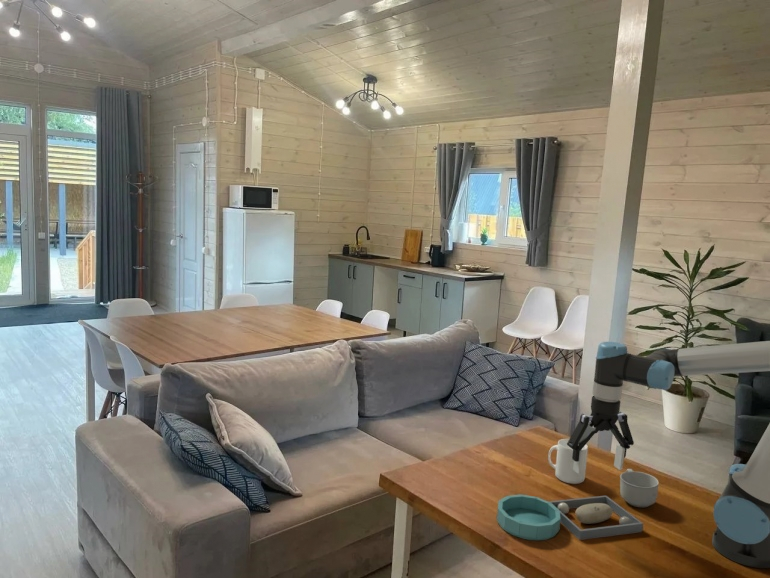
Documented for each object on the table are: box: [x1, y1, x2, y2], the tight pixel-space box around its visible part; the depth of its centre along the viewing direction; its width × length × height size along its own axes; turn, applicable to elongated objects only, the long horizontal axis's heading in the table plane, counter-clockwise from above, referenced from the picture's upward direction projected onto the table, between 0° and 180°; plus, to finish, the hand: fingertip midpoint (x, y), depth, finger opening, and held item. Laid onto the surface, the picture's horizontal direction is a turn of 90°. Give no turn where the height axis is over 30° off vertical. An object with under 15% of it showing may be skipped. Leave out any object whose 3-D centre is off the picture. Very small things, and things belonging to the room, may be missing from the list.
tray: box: [548, 495, 644, 541], centre depth 168 cm, size 16×20×2 cm
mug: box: [547, 438, 589, 485], centre depth 194 cm, size 10×12×12 cm
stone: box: [574, 503, 613, 525], centre depth 168 cm, size 6×6×12 cm
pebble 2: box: [618, 516, 631, 525], centre depth 165 cm, size 3×3×3 cm
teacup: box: [619, 468, 660, 509], centre depth 181 cm, size 14×11×8 cm
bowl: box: [496, 494, 561, 541], centre depth 164 cm, size 17×17×4 cm
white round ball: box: [558, 503, 570, 515], centre depth 171 cm, size 3×3×3 cm
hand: (597, 469), depth 166 cm, fingers open, 13 cm apart
